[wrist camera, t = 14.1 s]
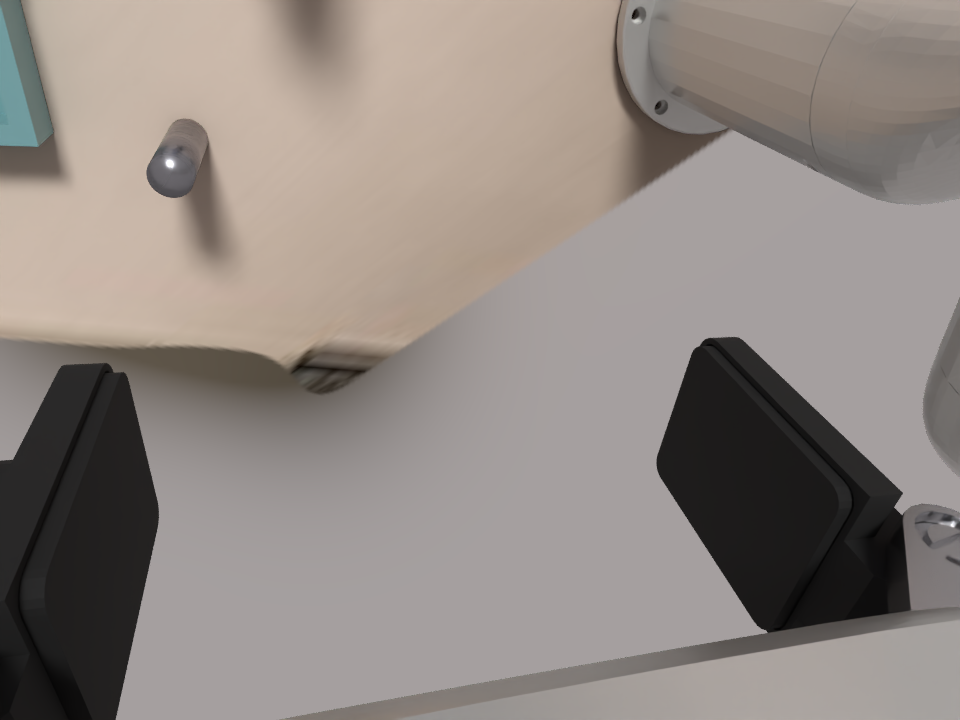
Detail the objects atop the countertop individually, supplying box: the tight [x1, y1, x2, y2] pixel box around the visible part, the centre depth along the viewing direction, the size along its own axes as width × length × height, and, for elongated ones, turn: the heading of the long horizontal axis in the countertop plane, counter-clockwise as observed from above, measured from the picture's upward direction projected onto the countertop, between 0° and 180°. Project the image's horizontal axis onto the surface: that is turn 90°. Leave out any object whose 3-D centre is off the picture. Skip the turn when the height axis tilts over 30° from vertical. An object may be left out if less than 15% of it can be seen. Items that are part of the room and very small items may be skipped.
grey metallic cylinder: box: [147, 119, 208, 198], centre depth 33 cm, size 2×2×6 cm
